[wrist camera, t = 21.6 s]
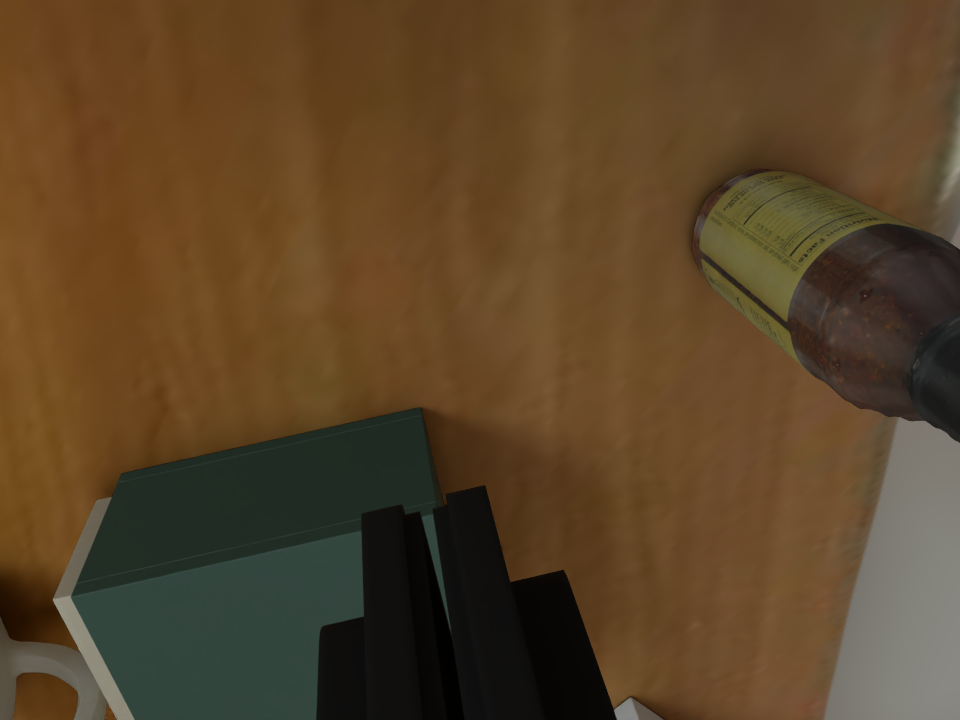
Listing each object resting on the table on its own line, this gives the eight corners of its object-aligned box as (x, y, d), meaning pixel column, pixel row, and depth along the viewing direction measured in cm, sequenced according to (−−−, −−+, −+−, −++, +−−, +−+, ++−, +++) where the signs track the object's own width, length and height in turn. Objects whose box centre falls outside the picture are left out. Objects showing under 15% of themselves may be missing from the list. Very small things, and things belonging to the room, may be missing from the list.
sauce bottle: (809, 278, 41) (1157, 534, 24) (684, 300, 41) (944, 577, 23) (817, 143, 38) (1223, 320, 21) (683, 165, 38) (980, 365, 20)
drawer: (154, 675, 45) (124, 789, 39) (70, 505, 40) (21, 606, 34) (425, 612, 46) (437, 714, 40) (378, 437, 41) (383, 524, 35)
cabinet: (204, 660, 46) (177, 803, 39) (121, 473, 41) (69, 597, 33) (466, 599, 47) (490, 727, 39) (421, 406, 41) (438, 513, 34)
